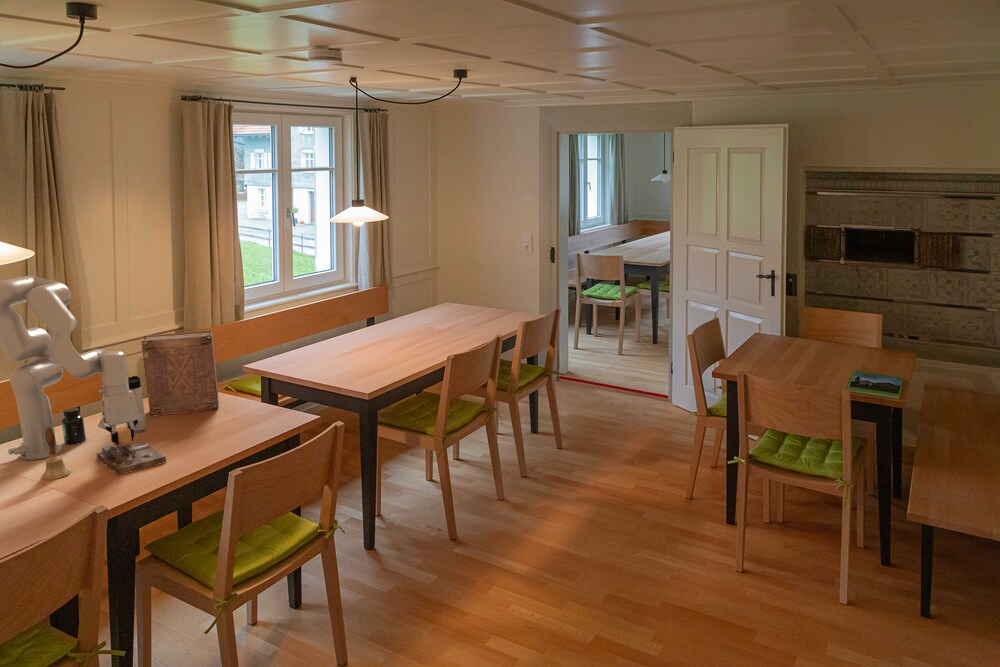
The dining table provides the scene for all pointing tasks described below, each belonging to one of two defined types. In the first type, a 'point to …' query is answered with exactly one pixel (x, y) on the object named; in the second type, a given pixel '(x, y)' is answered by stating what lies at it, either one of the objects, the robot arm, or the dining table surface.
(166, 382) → the book
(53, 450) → the hand bell
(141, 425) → the travel mug
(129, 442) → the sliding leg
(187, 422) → the dining table surface
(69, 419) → the supplement bottle
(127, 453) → the gauge plate
